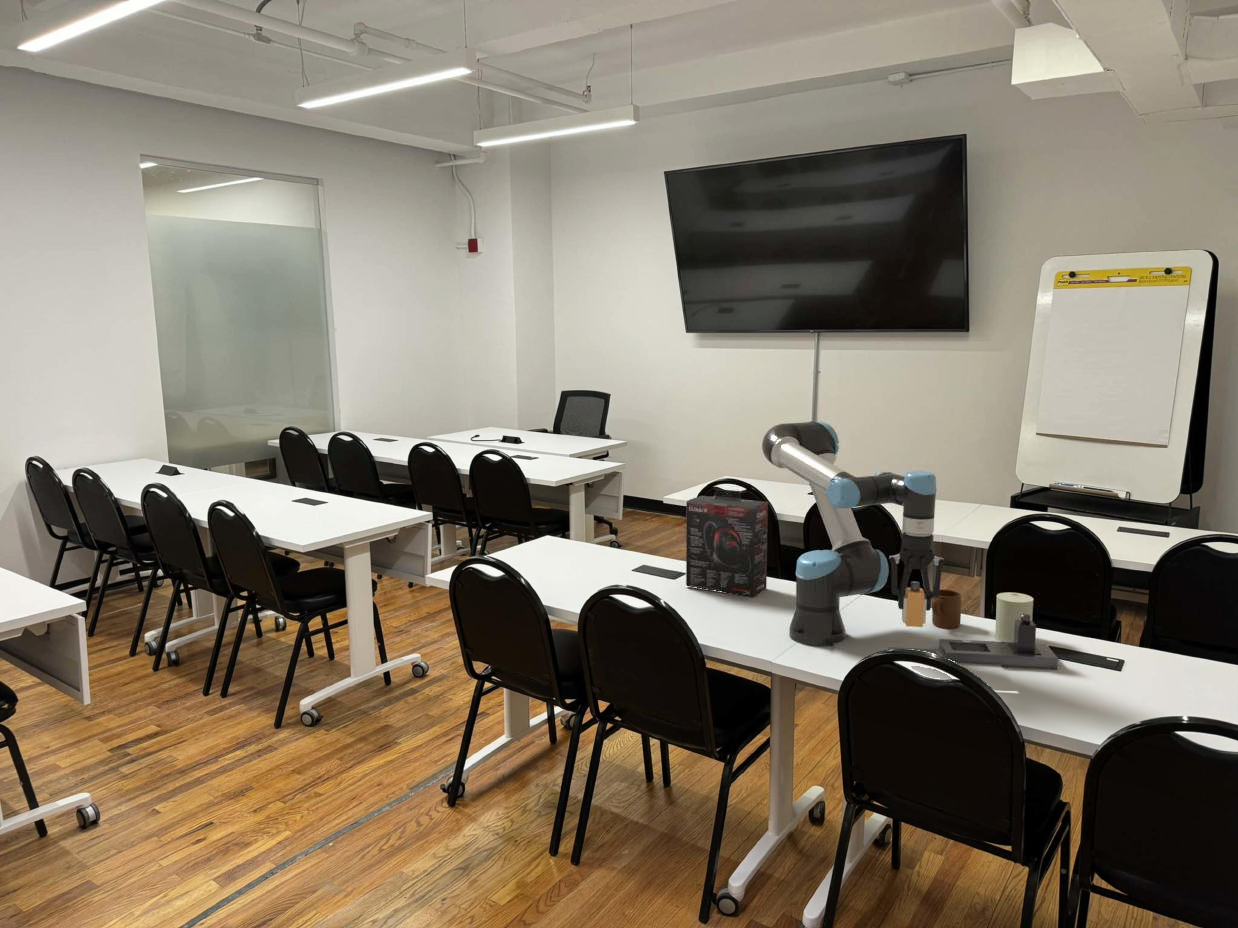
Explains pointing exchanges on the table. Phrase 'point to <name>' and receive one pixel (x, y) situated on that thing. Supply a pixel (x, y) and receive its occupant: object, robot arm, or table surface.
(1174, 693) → the table surface
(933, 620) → the mug
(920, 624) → the orange bottle
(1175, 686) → the table surface
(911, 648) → the parts mat
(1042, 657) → the grey fixture base
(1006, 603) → the can
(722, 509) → the headset box
